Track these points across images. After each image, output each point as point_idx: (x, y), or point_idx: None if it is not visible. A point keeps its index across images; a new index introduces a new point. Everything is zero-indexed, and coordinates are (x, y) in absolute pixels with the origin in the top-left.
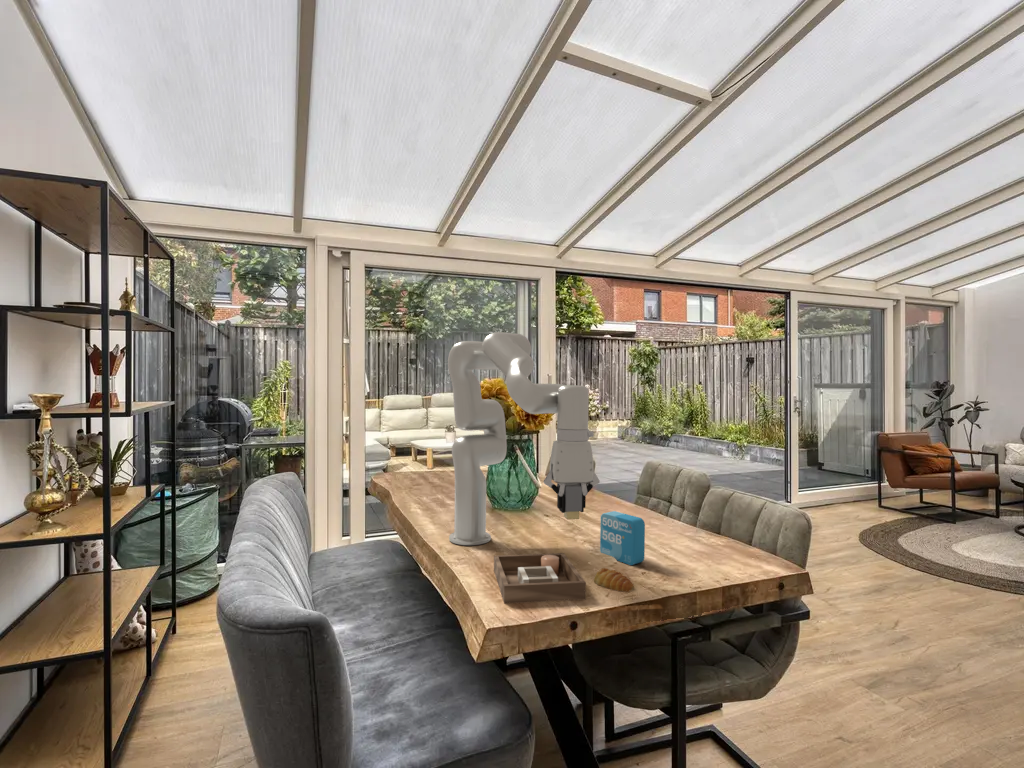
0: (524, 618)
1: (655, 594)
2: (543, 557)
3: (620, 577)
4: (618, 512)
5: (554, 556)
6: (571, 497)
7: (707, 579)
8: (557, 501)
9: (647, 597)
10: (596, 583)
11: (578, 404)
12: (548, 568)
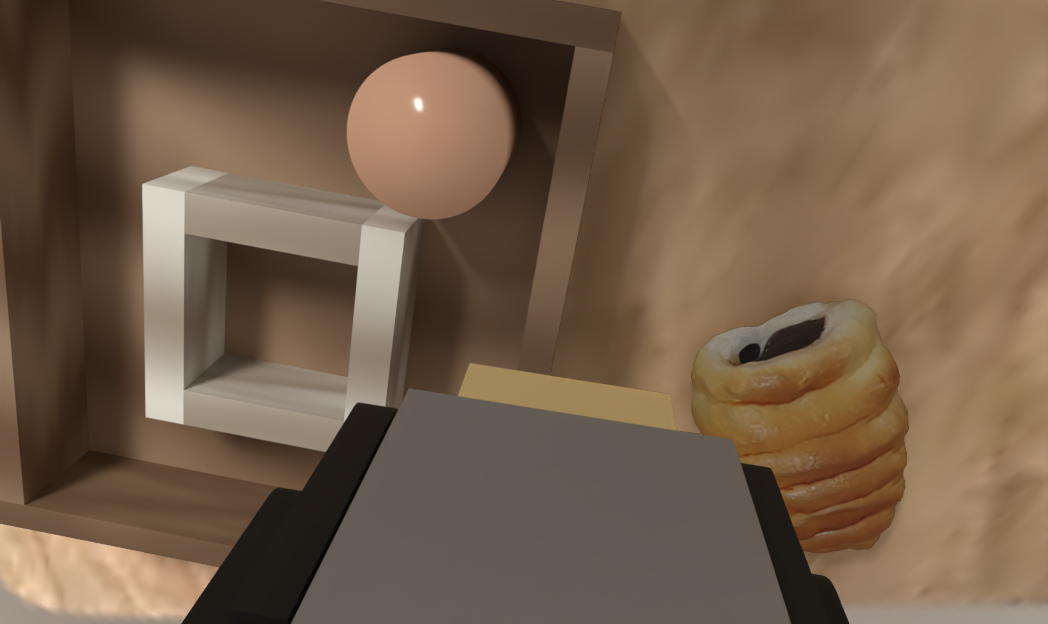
0: (162, 586)
1: (971, 569)
2: (371, 113)
3: (835, 502)
4: None
5: (478, 118)
6: None
7: None
8: (235, 559)
9: (894, 586)
10: (693, 390)
11: None
12: (371, 277)
